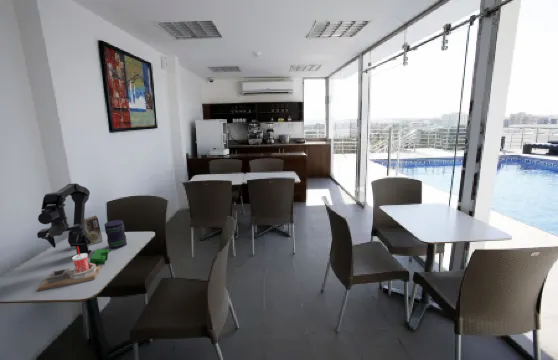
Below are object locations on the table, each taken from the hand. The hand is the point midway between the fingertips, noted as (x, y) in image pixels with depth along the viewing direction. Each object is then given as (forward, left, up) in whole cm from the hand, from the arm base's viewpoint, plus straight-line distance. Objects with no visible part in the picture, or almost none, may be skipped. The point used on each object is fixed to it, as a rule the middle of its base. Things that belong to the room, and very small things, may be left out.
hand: (65, 245), depth 141 cm
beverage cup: (+14, +10, -11) cm, 20 cm away
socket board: (+14, +5, -12) cm, 19 cm away
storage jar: (-18, +19, -12) cm, 29 cm away
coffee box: (-31, +3, -12) cm, 33 cm away
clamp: (+2, +14, -12) cm, 19 cm away
